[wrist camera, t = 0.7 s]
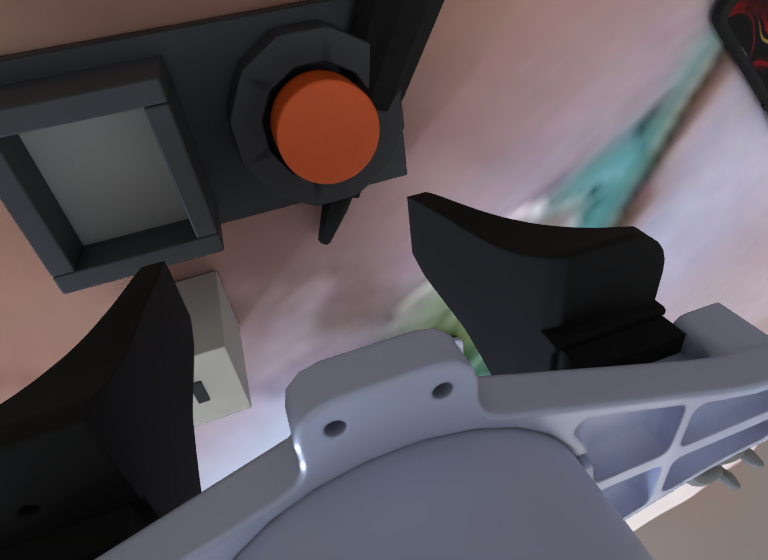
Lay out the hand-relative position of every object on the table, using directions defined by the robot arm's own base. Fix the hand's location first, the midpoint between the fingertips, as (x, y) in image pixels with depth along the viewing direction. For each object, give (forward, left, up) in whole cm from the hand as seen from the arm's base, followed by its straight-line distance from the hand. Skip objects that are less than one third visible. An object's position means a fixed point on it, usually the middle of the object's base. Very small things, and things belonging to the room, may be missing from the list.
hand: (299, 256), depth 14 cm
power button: (+1, -3, -7) cm, 8 cm away
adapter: (+1, +1, -10) cm, 10 cm away
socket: (+1, +5, -10) cm, 11 cm away
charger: (-8, +5, -10) cm, 14 cm away
